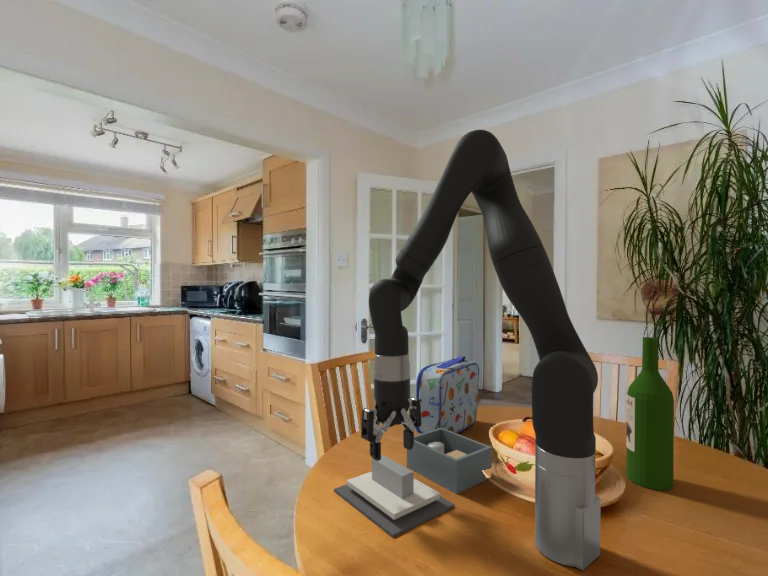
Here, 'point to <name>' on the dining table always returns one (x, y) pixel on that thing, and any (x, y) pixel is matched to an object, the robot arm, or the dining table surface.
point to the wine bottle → (650, 424)
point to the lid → (393, 488)
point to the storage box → (449, 459)
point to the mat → (385, 521)
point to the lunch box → (448, 395)
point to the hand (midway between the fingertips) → (392, 453)
